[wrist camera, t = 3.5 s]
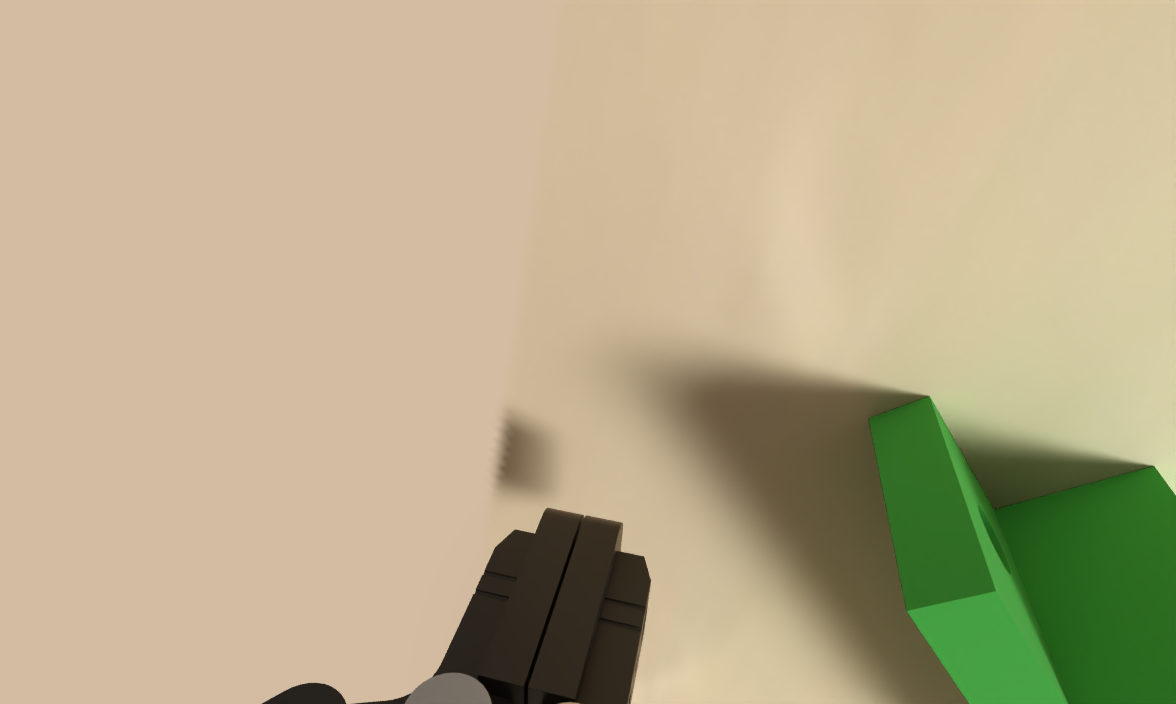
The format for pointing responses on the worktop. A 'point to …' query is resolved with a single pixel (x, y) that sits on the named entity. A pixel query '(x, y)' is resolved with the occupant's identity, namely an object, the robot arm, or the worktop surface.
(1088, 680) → the pipe clamp
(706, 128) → the worktop surface
